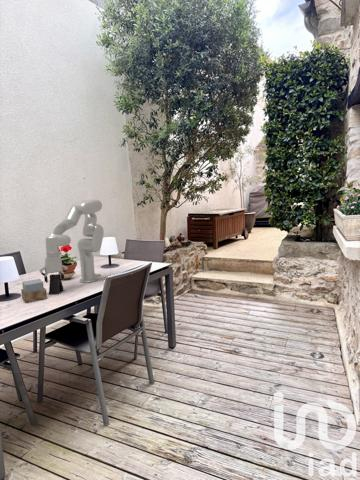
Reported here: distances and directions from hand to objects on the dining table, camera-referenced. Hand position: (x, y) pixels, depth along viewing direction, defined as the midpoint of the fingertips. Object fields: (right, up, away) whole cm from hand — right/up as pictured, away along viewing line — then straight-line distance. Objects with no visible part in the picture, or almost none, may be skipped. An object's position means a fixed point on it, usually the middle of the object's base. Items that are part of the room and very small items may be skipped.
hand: (54, 281), depth 195 cm
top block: (-9, -4, -10) cm, 14 cm away
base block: (-8, -10, -9) cm, 16 cm away
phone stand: (+1, -8, +2) cm, 8 cm away
